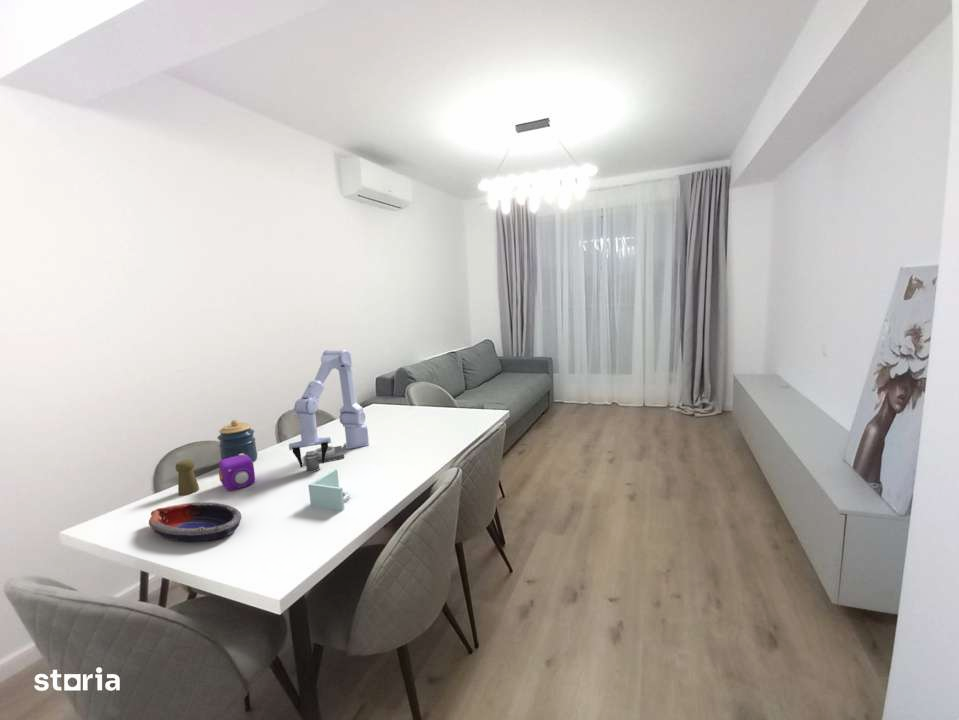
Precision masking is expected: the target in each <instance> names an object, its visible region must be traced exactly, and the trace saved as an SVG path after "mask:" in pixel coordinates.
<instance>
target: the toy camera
mask: <svg viewBox="0 0 959 720" xmlns="http://www.w3.org/2000/svg"><path fill="white" fill-rule="evenodd" d="M255 474H256V473H255V466H254V462H253V461H252V459H251V458H250V457H249V456H248V455H246V454H244V453H241V454H239V456H235V457H231V458H227V459H223V460H221V459H220V461H219V462H218V475H219V476H218V477H219V482H221V484H222V486H223V487H224V489H225V490H226V491H235V490H237V489H241V488H243V487H244V488H245V487H247V486H250V485H252V484H254V483H255V482H256V475H255Z"/></svg>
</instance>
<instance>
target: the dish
mask: <svg viewBox="0 0 959 720" xmlns="http://www.w3.org/2000/svg"><path fill="white" fill-rule="evenodd" d="M242 518H243V517H242V513H241V511H240V510H238V509H237V508H236V507H234V506H233V505H228V504H226V503H225V504H224V503H219V502H207V501H201V502H199V501H198V502H197V501H196V502H187V503H181V504H177V505H176V504H175V505H169V506H165V507H160V508H157V509H154V510H151V512H150V517H149V519H148V525H149V527H150V528H151V530H153V532H154V533H155V534H157V535H159V537H162V538H164V539H168V540H172V541H179V542H181V541H182V542H206V541H213V540H217V539H221V538H224V537H227V536H229V535H231V534H233V533H234V532H235V531H236V530H238V529H237V528H238V527H239V526H240V524H241V523H240V522H241V520H242Z"/></svg>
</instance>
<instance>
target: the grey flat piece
mask: <svg viewBox="0 0 959 720" xmlns="http://www.w3.org/2000/svg"><path fill="white" fill-rule="evenodd" d="M312 452H316V453H318V461H319V462H321V463H322V451H321V446H320V447H318V448H316V449H314V450H309V451H306V452H305V455H306V454H308V453H312ZM340 458H342V459H344V458H345V453H344V451H343V447H342V445H337V446H329V445H328V448H327V451H326V454H325V459H324V461H327V462H330V461H329V460H332V461H335V460H334V459H337V460H341V459H340Z"/></svg>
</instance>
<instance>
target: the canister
mask: <svg viewBox="0 0 959 720" xmlns="http://www.w3.org/2000/svg"><path fill="white" fill-rule="evenodd" d="M218 433H219V435H218V436H217V440H218V441H219V443H218V447H219V455H220V461H221V460H223V459H227V458H231V457H235V456H239V454H241V453H244V454H246V455H248V456H249V457H250V458H251V459H252V461H253V463H254V462H255V461H257V459H258V450H257V445H256V438H255V437H254V433H255V430H254V429H252V425H251V424H248V423H247V422H239V421H238V420H236V419H233V420H232V421H231V422H230V424H227V425H225V426H223V427H222V428H220V430H219V431H218Z"/></svg>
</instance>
